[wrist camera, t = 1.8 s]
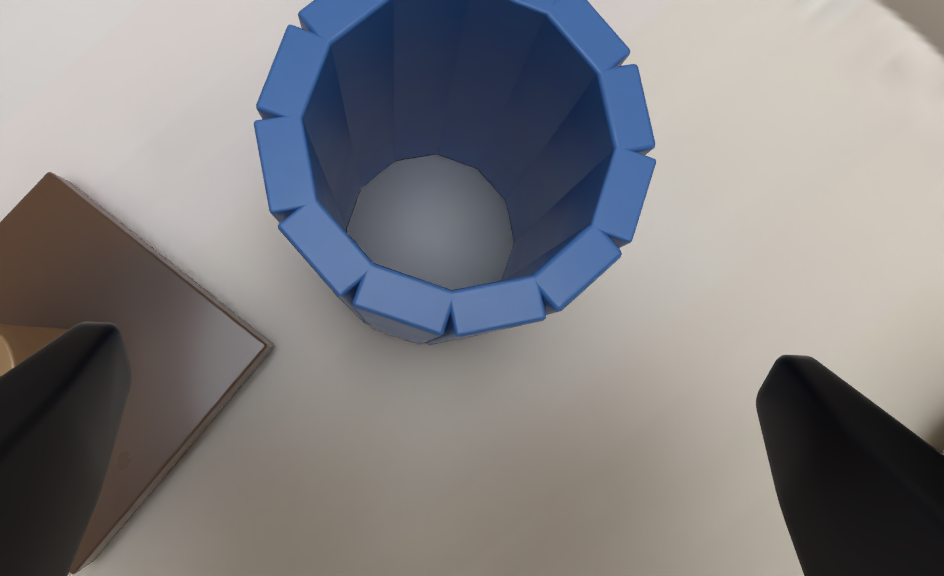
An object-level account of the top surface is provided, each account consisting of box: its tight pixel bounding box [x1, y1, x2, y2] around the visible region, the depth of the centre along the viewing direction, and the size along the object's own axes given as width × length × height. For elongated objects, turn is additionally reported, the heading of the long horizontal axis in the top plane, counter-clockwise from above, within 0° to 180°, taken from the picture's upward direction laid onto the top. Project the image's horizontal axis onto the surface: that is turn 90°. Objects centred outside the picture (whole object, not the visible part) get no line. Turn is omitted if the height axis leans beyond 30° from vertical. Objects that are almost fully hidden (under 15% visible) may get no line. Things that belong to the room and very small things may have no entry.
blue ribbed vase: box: [254, 0, 656, 345], centre depth 16 cm, size 7×7×10 cm
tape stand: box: [0, 172, 274, 574], centre depth 17 cm, size 8×8×6 cm
